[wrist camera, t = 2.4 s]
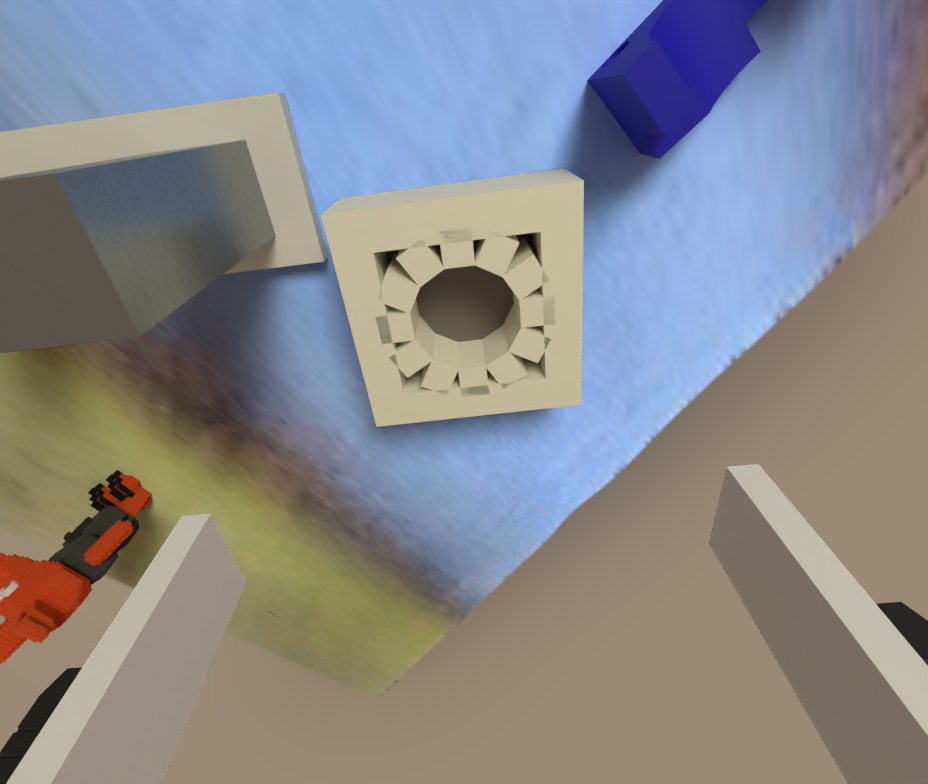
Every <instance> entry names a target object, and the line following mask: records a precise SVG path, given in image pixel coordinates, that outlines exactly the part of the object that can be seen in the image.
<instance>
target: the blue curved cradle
mask: <svg viewBox="0 0 928 784" xmlns="http://www.w3.org/2000/svg"><path fill="white" fill-rule="evenodd" d="M767 1H768V0H663V1H662V2H661V3H660V4H659V5H658V6H657V8H656V9H655V10H654V11H653V12H652V13H651V14H650V15H649V16H648V17H647V18H646V19H645V20H644V21H643V22H642V23H641V24H640V25H639V26H638V28H637V29H636V30H635V31H634V32H633V33H632V34H631V35H630V36H629V37H628V38H627V39H626V40H625V41H624V42H623V43H622V44H621V45H620V46H619V48H618V49H617V50H616V51H615V52H614V53H613V54H612V55H611V56H610V57H609V58H608V59H607V60H606V61H605V62H604V63H603V64H602V65H601V67H600V68H599V69H598V70H597V71H596V72H595V73H594V74H593V75H592V76H591V77H590V78H589V79H588V82H589V83H590V85H591V86H592V87H593V89H594V90H595V91H596V93H597V94H598V96H599V97H600V98H601V100H602V101H603V103H604V104H605V105H606V107H607V108H608V110H609V111H610V112H611V114H612V115H613V116H614V118H615V119H616V121H617V122H618V123H619V125H620V126H621V128H622V129H623V130H624V132H625V133H626V135H627V136H628V137H629V139H630V140H631V141H632V143H633V144H634V146H635V147H636V148H637V150H638V151H639V153H641V154H645V155H648V156H652V157H655V158H659V159H660V158H661V157H662V156H663V155H664V154H665V153H666V152H667V151H668V150H670V149H671V148H672V147H673V146H674V145H675V144H676V143H677V142H678V141H679V140H680V139H682V138H683V137H684V136H685V135H686V134H687V133H688V132H689V131H690V130H691V129H692V128H693V127H695V126H696V125H697V124H698V123H699V122H700V121H701V120H702V119H703V118H704V117H705V116H707V115H708V114H709V113H710V111H711V109H712V107H713V105H714V104H715V102H716V101H717V99H718V98H719V96H720V95H721V94H722V92H723V91H724V90H725V88H726V87H727V86H728V85H729V84H730V82H731V81H732V80H733V79H734V78H735V77H736V76H737V75H738V73H739V72H740V71H741V70H742V69H743V68H744V67H745V66H746V65H747V64H748V63H749V62H750V61H751V60H752V59H753V58H754V57H755V56H756V55H757V54H758V53H760V52H761V51H760V50H759V48H758V46H757V44H756V42H755V40H754V39H753V37H752V35H751V33H750V31H749V29H748V28H747V26H746V24H745V21H746V20H747V19H748V18H749V17H750V16H751V15H752V14H754V13H755V12H756V11H757V10H758V9H759V8H760V7H761V6H762V5H763V4H764V3H766V2H767Z"/></svg>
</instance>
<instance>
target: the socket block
mask: <svg viewBox="0 0 928 784" xmlns="http://www.w3.org/2000/svg"><path fill="white" fill-rule="evenodd" d="M321 217H322V221H323V225H324V228H325V232H326V236H327V240H328V244H329V248H330V251H331V255H332V259H333V263H334V267H335V270H336V274H337V278H338V282H339V286H340V289H341V293H342V297H343V301H344V305H345V308H346V312H347V316H348V320H349V324H350V328H351V331H352V335H353V339H354V343H355V347H356V350H357V354H358V358H359V362H360V366H361V369H362V373H363V377H364V381H365V385H366V389H367V392H368V396H369V400H370V404H371V408H372V411H373V415H374V419H375V423H376V427H380V426H389V425H398V424H408V423H417V422H426V421H435V420H445V419H454V418H463V417H472V416H482V415H491V414H500V413H509V412H519V411H528V410H537V409H546V408H556V407H565V406H574V405H582V316H583V224H584V180H582V179H581V178H579V177H577V176H576V175H574V174H572V173H571V172H569V171H567V170H566V169H557V170H549V171H541V172H534V173H526V174H519V175H511V176H503V177H496V178H488V179H480V180H473V181H465V182H458V183H450V184H442V185H435V186H427V187H420V188H412V189H404V190H397V191H389V192H381V193H374V194H366V195H359V196H351V197H343V198H340V199H339V200H338V201H336V202H335V203H334V204H333V205H332V206H331V207H329V208H328V209H327V210H326V211H325V212H323V213H322V214H321Z"/></svg>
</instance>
